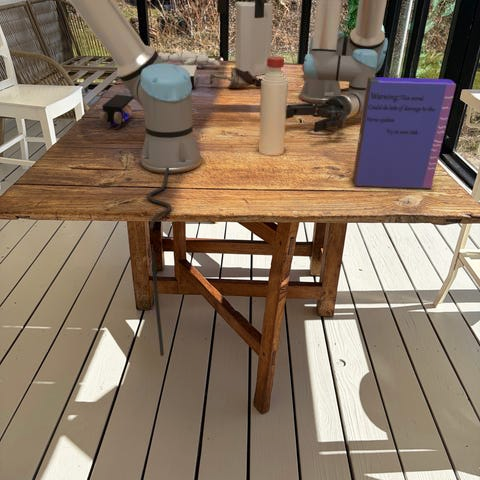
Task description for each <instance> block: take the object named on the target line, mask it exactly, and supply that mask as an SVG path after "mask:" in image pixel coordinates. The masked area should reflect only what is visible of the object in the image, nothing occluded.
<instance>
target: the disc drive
mask: <svg viewBox="0 0 480 480" xmlns="http://www.w3.org/2000/svg"><path fill="white" fill-rule="evenodd" d="M174 65H175V66H177V65H178V64H174ZM178 66H181V67H183V68H185V69H186V70H187V71H188V72H189V74H190V79H191V83H192V84H191V85H192V90H195V87H196V81H197V78H198V67H197V65H196V64H193V65H184V64H179V65H178Z"/></svg>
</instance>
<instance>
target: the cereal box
mask: <svg viewBox="0 0 480 480" xmlns="http://www.w3.org/2000/svg"><path fill="white" fill-rule="evenodd" d="M456 86H457V84H456V83H455V82H454V80H452V79H448V78H419V77H418V78H417V77H416V78H415V77H413V78H412V77H411V78H410V77H384V76H383V77H379V76H378V77H377V76H375V77H368V78H367V85H366V91H365V98H364V105H363V112H362V114H361V118H360V126H359V132H358V140H357V146H356V153H355V160H354V166H353V167H354V168H353V173H352V180H353V183H354V185H355V187H373V188H395V189H396V188H397V189H398V188H399V189H419V190H420V189H421V190H422V189H423V190H432V185H433V183H434V178H435V173H436V170H437V166H438V161H439V158H440V153H441V150H442V145H443V141H444V136H445V133H446V129H447V125H448V121H449V115H450V112H451V107H452V103H453V100H454V95H455V91H456V88H457V87H456Z"/></svg>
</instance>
